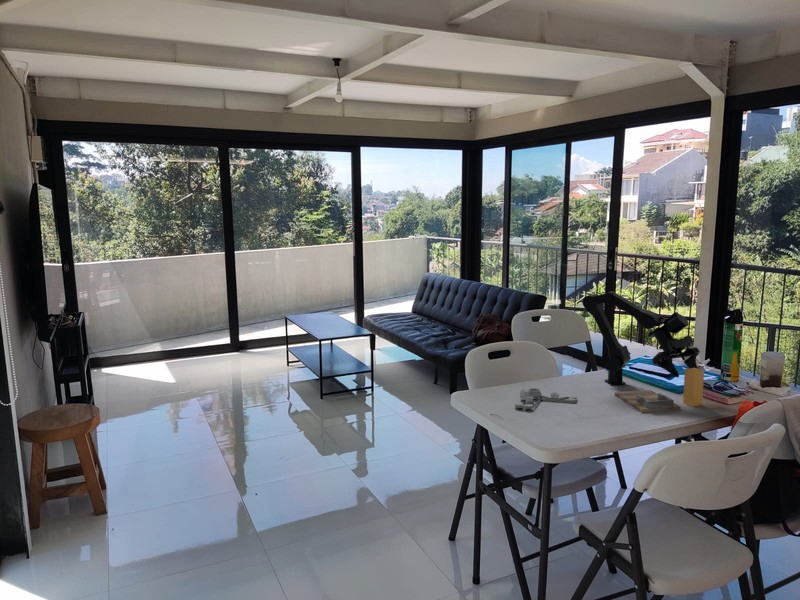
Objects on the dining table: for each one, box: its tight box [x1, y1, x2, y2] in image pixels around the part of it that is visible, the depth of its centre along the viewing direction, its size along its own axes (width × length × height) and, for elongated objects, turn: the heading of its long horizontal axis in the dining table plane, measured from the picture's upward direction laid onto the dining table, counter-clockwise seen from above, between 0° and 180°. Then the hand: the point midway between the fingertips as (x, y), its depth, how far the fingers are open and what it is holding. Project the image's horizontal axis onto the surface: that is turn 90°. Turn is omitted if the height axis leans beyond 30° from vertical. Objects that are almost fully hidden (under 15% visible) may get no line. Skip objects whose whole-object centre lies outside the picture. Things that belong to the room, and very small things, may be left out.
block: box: [682, 367, 705, 407], centre depth 217 cm, size 4×4×13 cm
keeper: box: [614, 389, 682, 413], centre depth 221 cm, size 20×15×4 cm
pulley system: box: [514, 387, 577, 410], centre depth 226 cm, size 27×5×15 cm
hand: (687, 375), depth 220 cm, fingers open, 9 cm apart
